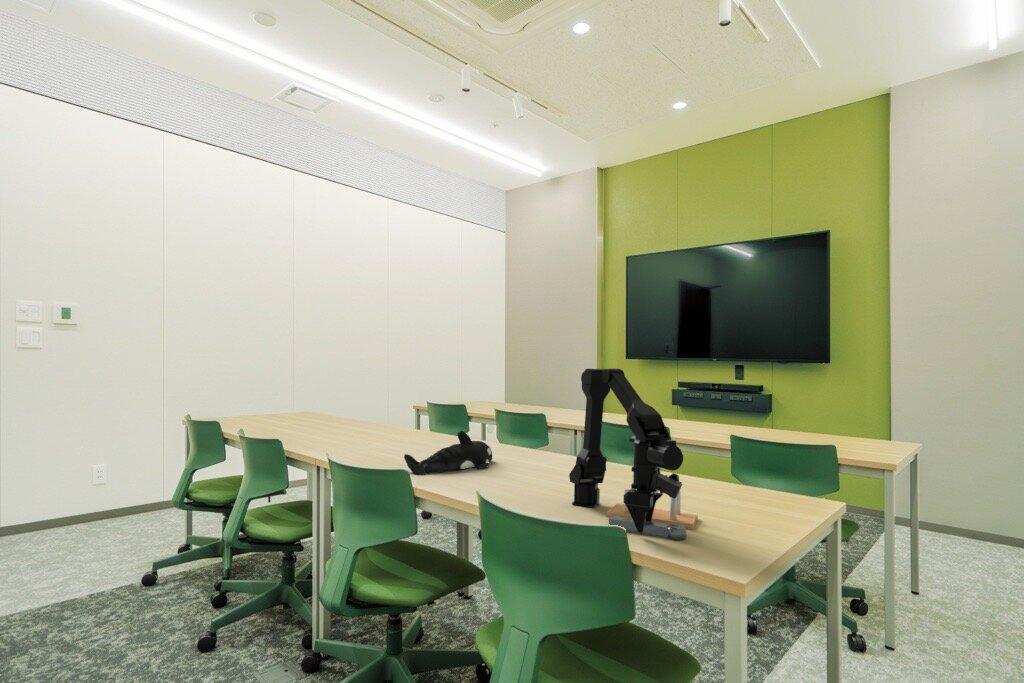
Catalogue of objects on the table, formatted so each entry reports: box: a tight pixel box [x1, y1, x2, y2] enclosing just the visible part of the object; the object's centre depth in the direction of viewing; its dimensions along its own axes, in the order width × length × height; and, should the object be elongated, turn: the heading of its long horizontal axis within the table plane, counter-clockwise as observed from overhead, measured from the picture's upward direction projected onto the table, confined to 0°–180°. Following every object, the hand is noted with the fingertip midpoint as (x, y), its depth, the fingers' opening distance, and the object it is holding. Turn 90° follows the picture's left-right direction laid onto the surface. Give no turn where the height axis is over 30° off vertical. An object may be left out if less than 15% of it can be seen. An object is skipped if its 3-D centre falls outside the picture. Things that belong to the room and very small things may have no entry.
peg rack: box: [606, 484, 699, 530], centre depth 142 cm, size 22×10×7 cm, turn 64°
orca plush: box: [403, 430, 493, 477], centre depth 206 cm, size 21×41×14 cm, turn 126°
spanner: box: [608, 516, 687, 542], centre depth 129 cm, size 18×4×2 cm, turn 64°
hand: (644, 527), depth 129 cm, fingers open, 9 cm apart
